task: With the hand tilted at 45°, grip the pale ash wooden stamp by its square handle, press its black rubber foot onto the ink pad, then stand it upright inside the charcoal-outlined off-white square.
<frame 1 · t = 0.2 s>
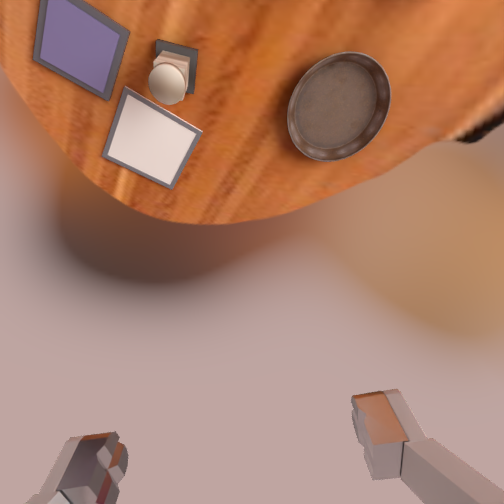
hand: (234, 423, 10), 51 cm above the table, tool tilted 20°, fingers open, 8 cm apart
marked square: (151, 143, 55), on the table
ink pad: (82, 45, 44), on the table
stamp: (177, 66, 47), on the table
plant saucer: (333, 107, 53), on the table
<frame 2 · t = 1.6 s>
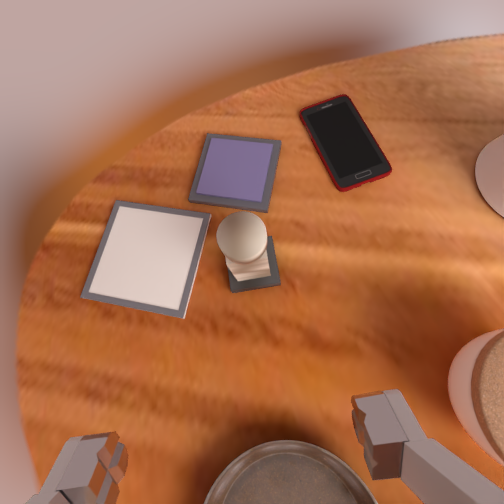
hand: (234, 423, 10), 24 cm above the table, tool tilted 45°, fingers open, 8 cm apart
marked square: (148, 255, 39), on the table
cell phone: (342, 144, 42), on the table
lidded bowl: (489, 391, 30), on the table
ink pad: (236, 172, 41), on the table
stamp: (253, 266, 37), on the table
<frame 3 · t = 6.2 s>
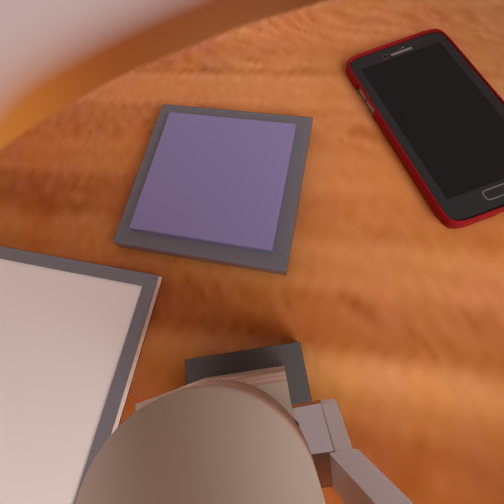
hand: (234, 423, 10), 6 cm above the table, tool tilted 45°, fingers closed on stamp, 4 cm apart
marked square: (17, 371, 17), on the table
cell phone: (436, 126, 20), on the table
ink pad: (219, 183, 20), on the table
stamp: (253, 410, 15), on the table, touching gripper
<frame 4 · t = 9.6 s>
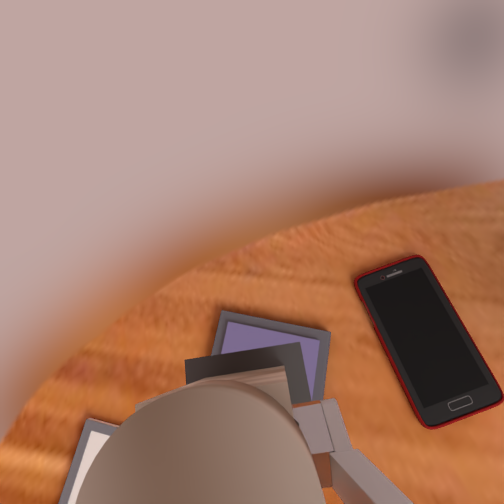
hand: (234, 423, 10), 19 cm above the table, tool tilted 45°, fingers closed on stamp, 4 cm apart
cell phone: (418, 335, 29), on the table
ink pad: (264, 378, 28), on the table
stamp: (253, 410, 15), point 13 cm above the table, touching gripper
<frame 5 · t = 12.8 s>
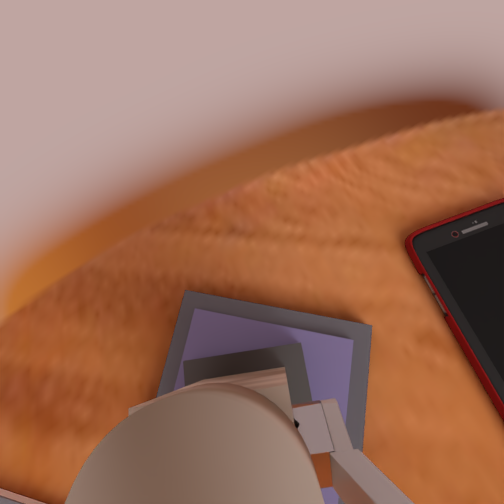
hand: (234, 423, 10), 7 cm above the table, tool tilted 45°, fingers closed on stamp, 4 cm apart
ink pad: (257, 407, 16), on the table
stamp: (253, 412, 15), point 1 cm above the table, touching gripper, ink pad
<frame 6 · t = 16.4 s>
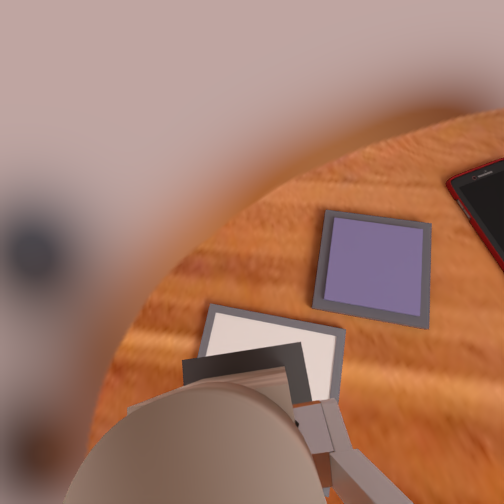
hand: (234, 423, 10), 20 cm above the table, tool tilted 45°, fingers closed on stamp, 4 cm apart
marked square: (263, 388, 28), on the table
ink pad: (371, 266, 31), on the table
stamp: (252, 412, 15), point 14 cm above the table, touching gripper
when the fingers open (8 cm above the table, at t = 19.8 s): stamp drops 2 cm, resting on marked square.
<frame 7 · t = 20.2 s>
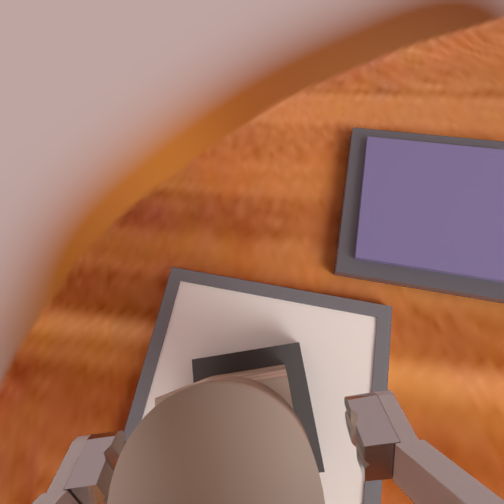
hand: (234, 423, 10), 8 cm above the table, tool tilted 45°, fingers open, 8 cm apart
marked square: (255, 404, 17), on the table
ink pad: (426, 210, 20), on the table
stamp: (255, 406, 16), resting on marked square
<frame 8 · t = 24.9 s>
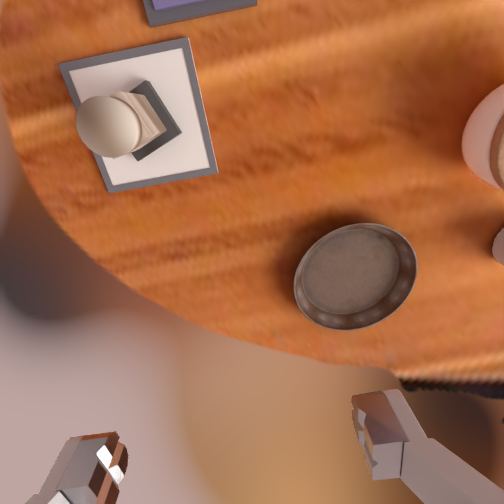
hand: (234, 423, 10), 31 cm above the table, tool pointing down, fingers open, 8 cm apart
marked square: (146, 122, 34), on the table
lidded bowl: (491, 129, 36), on the table
stamp: (145, 122, 34), resting on marked square
plant saucer: (348, 271, 44), on the table
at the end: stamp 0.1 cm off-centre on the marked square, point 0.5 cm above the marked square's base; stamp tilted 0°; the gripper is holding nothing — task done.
